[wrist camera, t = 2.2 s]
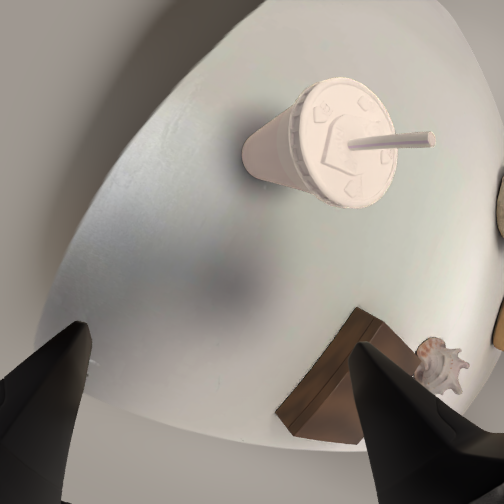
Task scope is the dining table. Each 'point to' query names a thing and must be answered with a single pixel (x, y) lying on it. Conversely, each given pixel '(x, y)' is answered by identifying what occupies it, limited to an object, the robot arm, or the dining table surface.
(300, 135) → the smoothie
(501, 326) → the planter
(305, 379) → the wooden jewelry box
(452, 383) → the seashell
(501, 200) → the ceramic vessel
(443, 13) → the dining table surface
